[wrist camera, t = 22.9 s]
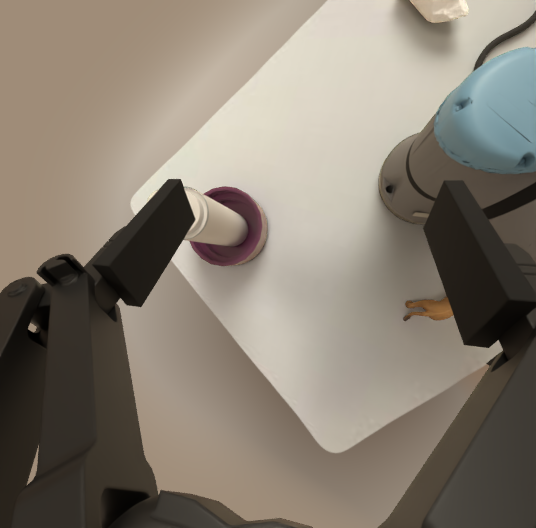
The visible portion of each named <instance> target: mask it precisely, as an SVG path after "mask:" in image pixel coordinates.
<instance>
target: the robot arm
mask: <svg viewBox="0 0 536 528" xmlns="http://www.w3.org/2000/svg"><path fill="white" fill-rule="evenodd" d="M535 20H536V11H535V13H534V14H533V15H532V16H531V17H530V18H529V19H528V20H527V21H526V22H524V23H523V24H521V25H520V26H518V27H516V28H514V29H512V30H510V31H508V32H506V33H504V34H503V35H501V36H499V37H498V38H496V39H494V40H493V41H492V42H491V43H490V44H488V45H487V46H486V48H485V49H484V50H483V51H482V53H481V54H480V56H479V58H478V60H477V62H476V64H475V68H474V72H473V73H471V74H470V75H469V76H468V77H467V78H466V79H465V80H464V81H463V82H462V83H461V84H460V85H459V86H458V87H457V88H456V89H455V90H453V91H452V92H451V93H450V94H449V95H448V96H447V97H446V99H445V100H444V102H443V103H442V104H441V105H440V107H439V109H438V111H437V112H436V114H435V115H434V116H433V117H432V119H431V120H430V121H429V122H428V124H427V125H426V126H425V127H424V129H423V130H422V131H421V132H420V133H417V134H414V135H412V136H410V137H408V138H406V139H405V140H403V141H402V142H400V143H399V144H398V145H397V146H396V147H395V148H394V149H393V150H392V151H391V153H390V154H389V155H388V157H387V158H386V160H385V162H384V164H383V166H382V168H381V171H380V175H379V191H380V195H381V198H382V200H383V202H384V204H385V205H386V207H387V208H388V209H389V210H390V211H391V212H392V213H393V214H394V215H396V216H397V217H399V218H400V219H402V220H405V221H407V222H410V223H415V224H425V225H424V228H423V229H424V232H425V235H426V238H427V241H428V243H429V246H430V249H431V252H432V255H433V258H434V261H435V263H436V266H437V269H438V272H439V275H440V278H441V281H442V283H443V286H444V289H445V292H446V295H447V298H448V300H449V303H450V306H451V309H452V312H453V315H454V318H455V320H456V323H457V326H458V329H459V332H460V335H461V337H462V340H463V343H464V345H469V346H477V347H486V348H489V347H490V346H492V345H493V344H494V343H495V342H496V341H497V340H499V341H500V344H501V346H502V348H503V351H502V352H500V353H499V354H498V355H496V356H495V357H494V358H493V359H491V360H490V361H489V362H488V363H486V364H488V365H489V366H490V365H491V366H490V367H489V369H488V370H487V372H486V373H485V375H484V376H483V377H482V379H481V381H480V382H479V383H478V385H477V387H476V388H475V390H474V391H473V392H472V394H471V395H470V397H469V398H468V400H467V401H466V403H465V404H464V406H463V407H462V409H461V410H460V412H459V413H458V415H457V416H456V418H455V419H454V421H453V422H452V424H451V425H450V427H449V428H448V430H447V431H446V433H445V434H444V436H443V437H442V439H441V440H440V442H439V443H438V445H437V446H436V448H435V449H434V451H433V452H432V454H431V455H430V456H429V458H428V459H427V461H426V462H425V464H424V465H423V467H422V469H421V470H420V472H419V473H418V474H417V476H416V477H415V479H414V480H413V482H412V483H411V485H410V486H409V488H408V489H407V491H406V492H405V494H404V495H403V497H402V498H401V500H400V501H399V503H398V504H397V506H396V507H395V509H394V510H393V512H392V513H391V514H390V516H389V517H388V519H386V521H385V522H384V523H382V524H381V525H380V526H379V527H378V528H536V48H529V47H523V48H519V49H515V50H512V51H509V52H506V53H504V54H501V55H499V56H497V57H495V58H493V59H491V60H490V61H488V62H486V63H484V64H483V61H484V59H485V57H486V55H487V54H488V53H489V52H490V50H491V49H493V48H494V47H495V46H496V45H498V44H499V43H501V42H502V41H504V40H506V39H508V38H510V37H512V36H514V35H516V34H518V33H520V32H521V31H523V30H525V29H526V28H528V27H529V26H530V25H531V24H532V23H534V21H535ZM482 64H483V65H482ZM195 220H196V219H195V216H194V214H193V211H192V208H191V206H190V203H189V200H188V197H187V195H186V192H185V189H184V187H183V184H182V181H181V179H168V180H167V181H166V182H165V183H164V185H163V186H162V187H161V188H160V189H159V190H158V191H157V192H156V193H155V195H154V196H153V197H152V198H151V199H150V200H149V201H148V202H147V204H146V205H145V206H144V207H143V208H142V209H141V210H140V211H139V212H138V214H137V215H136V216H135V217H134V218H133V219H132V220H131V221H130V223H129V224H128V225H127V226H125V227H123V228H122V229H120V230H119V231H117V232H116V233H115V234H114V235H113V236H112V237H111V238H110V239H109V242H108V241H107V242H106V244H105V245H104V246H103V247H102V248H101V249H100V250H99V251H98V252H97V253H96V255H94V257H93V258H92V259H91V260H90V261H89V262H88V263H87V264H86V265H85V266H84V267H83V266H82V265H81V264H80V263H79V262H78V261H77V260H76V259H75V258H74V256H73V255H70V254H62V255H58V256H55V257H53V258H51V259H49V260H47V261H46V262H44V263H43V264H42V265H41V266H40V267H39V268H38V270H37V274H38V275H39V276H40V277H42V278H43V279H44V280H45V281H46V282H47V283H46V284H40V283H39V282H38V281H37V280H36V279H35V278H32V277H25V278H22V279H19V280H16V281H14V282H12V283H10V284H9V285H8V286H7V287H5V288H4V289H3V290H2V292H1V293H0V528H313V527H311V526H307V525H304V524H300V523H297V522H293V521H289V520H286V519H282V518H277V519H267V520H257V521H246V520H244V519H243V518H241V517H240V516H238V515H237V514H236V513H234V512H233V511H232V510H230V509H229V508H227V507H226V506H224V505H223V504H222V503H220V502H219V501H216V500H212V499H208V498H205V497H200V496H197V495H193V494H187V493H180V492H170V491H163V490H161V491H160V494H159V495H158V491H157V485H156V480H155V476H154V474H153V471H152V468H151V467H150V465H149V464H148V462H147V461H146V458H145V455H144V451H143V445H142V439H141V433H140V428H139V421H138V416H137V409H136V403H135V397H134V391H133V385H132V379H131V374H130V368H129V361H128V355H127V349H126V343H125V337H124V331H123V325H122V319H121V313H120V308H119V306H118V305H117V304H116V303H117V301H118V300H119V299H120V298H121V299H122V300H123V301H124V303H125V304H126V305H129V306H138V307H141V306H142V305H143V303H144V302H145V300H146V299H147V297H148V295H149V294H150V292H151V291H152V289H153V287H154V286H155V284H156V283H157V281H158V279H159V278H160V276H161V274H162V273H163V271H164V270H165V268H166V267H167V265H168V263H169V262H170V260H171V258H172V257H173V255H174V254H175V252H176V250H177V249H178V247H179V246H180V244H181V242H182V241H183V239H184V238H185V236H186V234H187V233H188V231H189V230H190V228H191V226H192V225H193V223H194V222H195ZM30 322H31V323H32V324H34V325H35V326H36V327H37V329H36V331H35V332H34V333H33V332H31V331H30V330H28V326H29V324H30ZM38 445H39V452H38V465H37V472H36V476H35V477H34V479H33V481H32V482H30V483H29V484H28V485H27V481H28V478H29V475H30V472H31V468H32V465H33V462H34V458H35V455H36V452H37V448H38ZM26 485H27V486H26Z"/></svg>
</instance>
